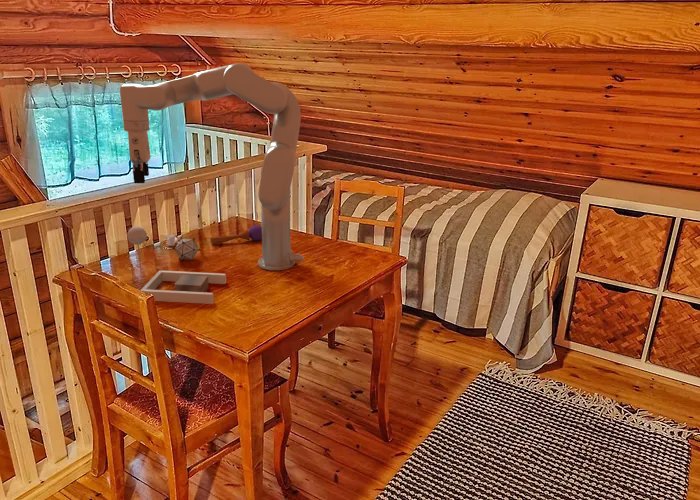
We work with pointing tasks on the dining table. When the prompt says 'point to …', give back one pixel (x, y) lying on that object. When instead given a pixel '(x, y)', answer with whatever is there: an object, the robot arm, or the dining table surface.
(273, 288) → the dining table surface
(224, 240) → the kendama
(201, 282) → the walnut block
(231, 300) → the dining table surface
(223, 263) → the dining table surface
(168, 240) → the teacup and saucer
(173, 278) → the u-shaped grey frame
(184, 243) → the game die
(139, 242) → the lollipop
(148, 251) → the dining table surface
